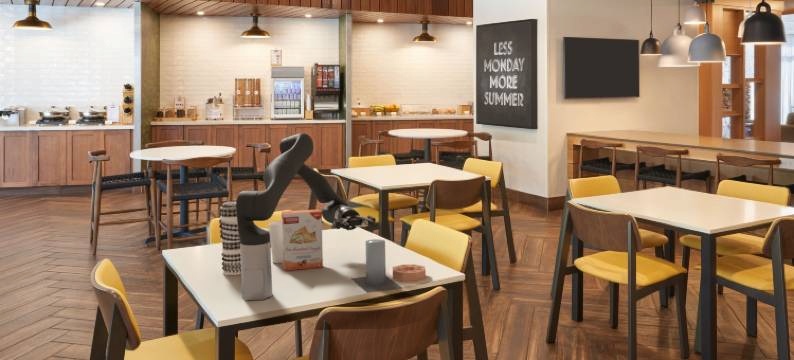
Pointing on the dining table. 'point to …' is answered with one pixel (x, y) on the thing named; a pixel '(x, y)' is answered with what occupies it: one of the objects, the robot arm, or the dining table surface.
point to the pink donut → (409, 272)
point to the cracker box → (302, 239)
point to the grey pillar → (375, 262)
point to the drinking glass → (276, 241)
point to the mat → (388, 286)
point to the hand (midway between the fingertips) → (360, 226)
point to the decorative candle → (230, 239)
